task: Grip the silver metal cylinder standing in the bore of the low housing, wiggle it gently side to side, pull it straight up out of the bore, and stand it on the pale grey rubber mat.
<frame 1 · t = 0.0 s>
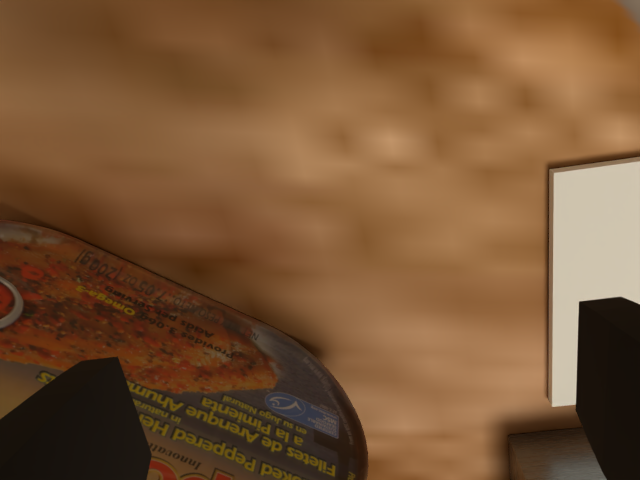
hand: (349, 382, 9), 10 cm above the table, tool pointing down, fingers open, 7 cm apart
tin: (162, 313, 21), on the table
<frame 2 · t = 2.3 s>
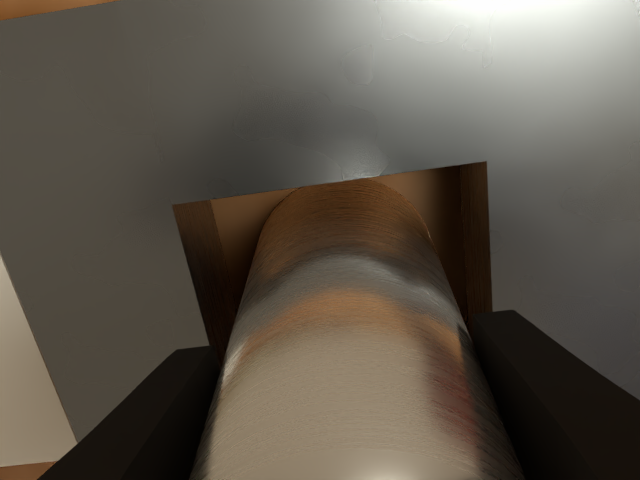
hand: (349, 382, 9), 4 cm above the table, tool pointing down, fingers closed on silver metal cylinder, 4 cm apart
housing: (344, 261, 13), on the table
silver metal cylinder: (349, 372, 9), in the housing, touching gripper
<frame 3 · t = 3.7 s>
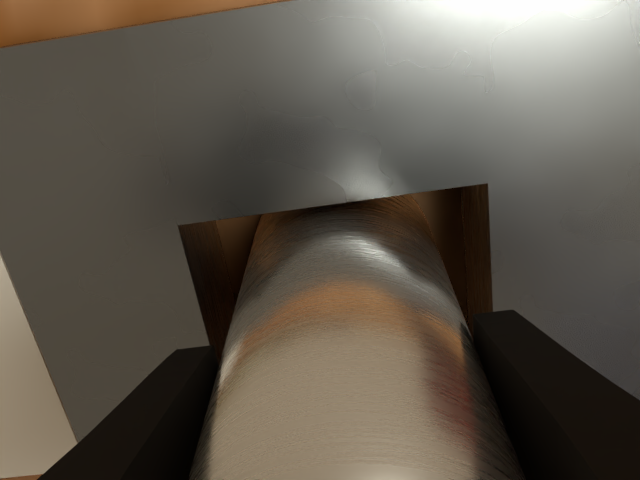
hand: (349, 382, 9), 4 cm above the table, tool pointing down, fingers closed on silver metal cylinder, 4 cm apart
housing: (346, 276, 13), on the table
silver metal cylinder: (348, 370, 9), in the housing, touching gripper
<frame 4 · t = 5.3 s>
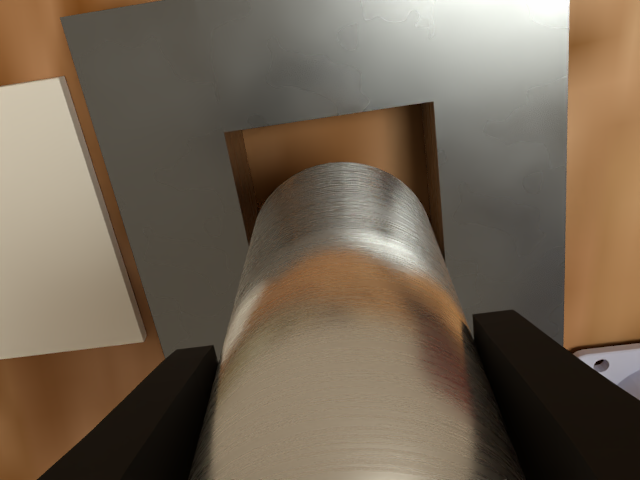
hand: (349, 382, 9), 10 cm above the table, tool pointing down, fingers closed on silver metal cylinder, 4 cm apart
housing: (340, 186, 18), on the table
silver metal cylinder: (347, 367, 9), point 10 cm above the table, touching gripper
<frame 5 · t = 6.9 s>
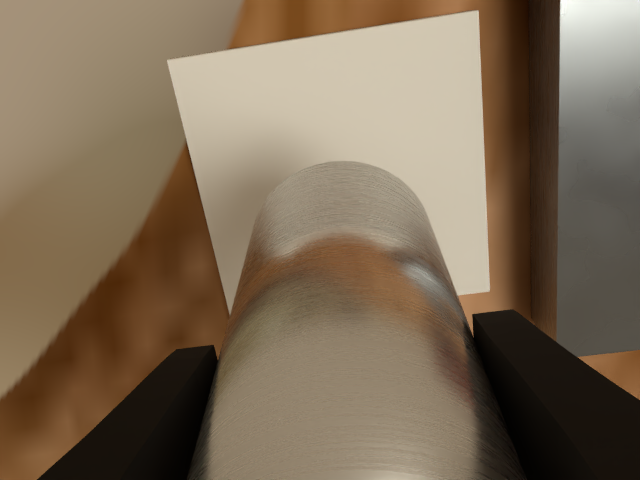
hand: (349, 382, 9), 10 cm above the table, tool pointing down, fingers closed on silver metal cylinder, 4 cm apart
silver metal cylinder: (347, 366, 9), point 10 cm above the table, touching gripper
mat: (340, 180, 19), on the table
when the fingers open (6 cm above the table, at t = 8.1 s): silver metal cylinder drops 1 cm, resting on mat.
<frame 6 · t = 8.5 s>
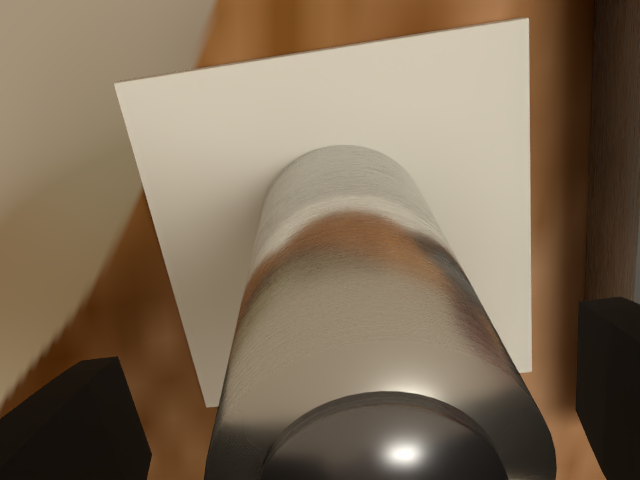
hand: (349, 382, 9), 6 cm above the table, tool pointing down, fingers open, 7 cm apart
silver metal cylinder: (355, 316, 10), on the mat
mat: (343, 235, 15), on the table
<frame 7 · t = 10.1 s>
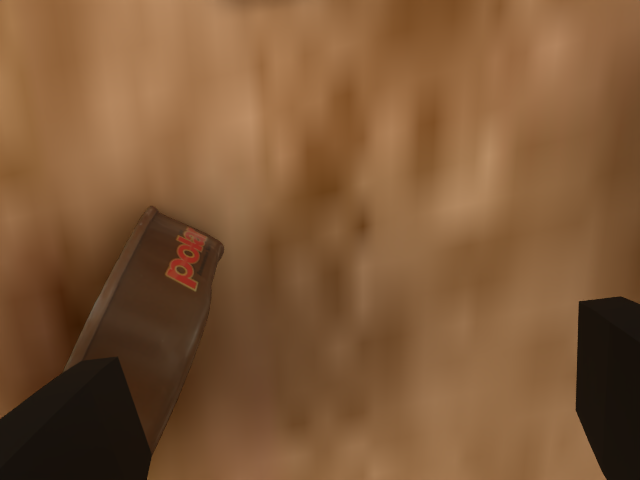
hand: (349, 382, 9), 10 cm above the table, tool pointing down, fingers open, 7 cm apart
tin: (137, 354, 22), on the table
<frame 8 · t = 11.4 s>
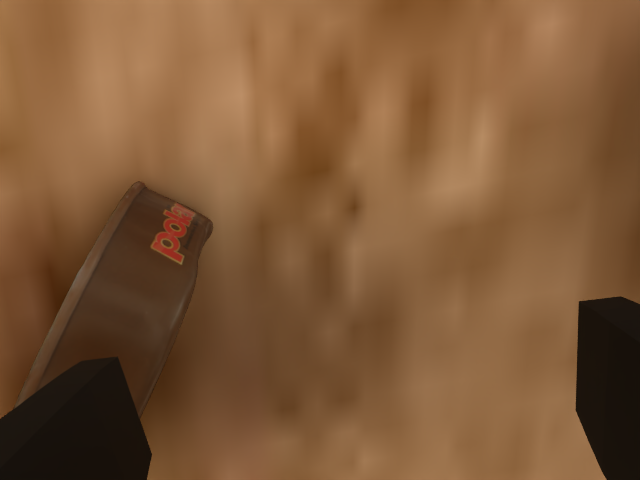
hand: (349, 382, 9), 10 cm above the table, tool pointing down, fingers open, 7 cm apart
tin: (126, 336, 22), on the table
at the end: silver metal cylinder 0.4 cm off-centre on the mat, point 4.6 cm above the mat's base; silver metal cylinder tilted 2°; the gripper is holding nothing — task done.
